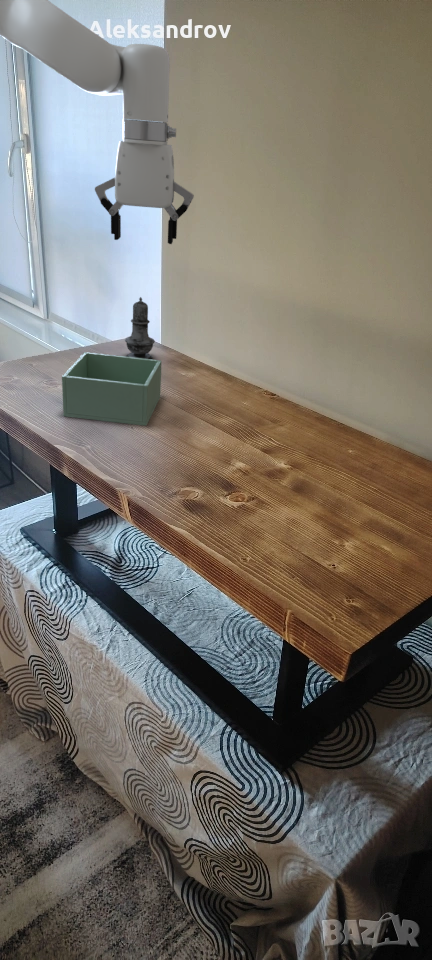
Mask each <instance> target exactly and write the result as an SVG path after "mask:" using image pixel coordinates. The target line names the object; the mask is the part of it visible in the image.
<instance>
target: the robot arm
mask: <svg viewBox="0 0 432 960" xmlns="http://www.w3.org/2000/svg"><path fill="white" fill-rule="evenodd" d="M0 37H1V38H3V39H4V40H6V41H7V42H9V43H10V44H11V45H13V46H15V47H17V48H19V49H21V50H23V51H25V53H28V55H30V56H32V57H33V58H35V59H36V60H38V61H39V62H41V63H42V64H43V65H45V66H47V67H48V68H50V69H51V70H53V72H56V73H57V74H58V75H60V76H62V77H63V78H64V79H66V80H67V81H69V82H71V83H72V84H73V85H75V86H76V87H78V88H80V89H81V90H82V91H84V92H87V93H89V94H92V95H97V96H102V97H107V96H117V95H119V96H120V95H122V140H119V141H118V145H117V152H116V161H115V174H114V177H112V178H111V179H109V180H106V181H105V182H103V183H100V184H97V186H95V187H94V192H95V194H96V196H97V198H98V200H99V202H100V204H101V206H102V207H103V208H104V209H105V210H106V211H107V212H108V214H109V216H110V234H111V235H113V239H114V240H115V241H118V240H120V238H121V236H122V226H121V225H122V224H121V221H122V218H121V215H120V210H121V209H122V208H123V207H124V206H127V207H128V206H129V207H139V208H154V209H164V210H165V212H166V213H167V214H168V216H169V219H168V222H167V244H168V245H172V244H173V243H174V242H173V241H174V240H177V234H178V220H179V219H180V218H181V217H182V216H183V215H184V214H185V213H186V212H187V210H188V209H189V207H190V205H191V203H192V201H193V200H194V198H195V195H194V193H192V192H191V191H189V190H188V189H186V188H185V187H184V186H182V185H180V184H178V183H177V182H176V181H175V159H174V151H173V145H172V144H168V142H169V139H172V138H177V128H176V127H172V126H170V125H169V103H170V102H169V100H170V67H171V66H170V65H171V64H170V62H171V61H170V60H171V59H170V54H169V52H168V50H166V48H164V47H163V46H160V45H154V44H147V43H131V44H128V45H126V46H121V45H116V44H112V43H109V41H107V40H106V39H104V38H103V37H101V36H100V35H99V34H97V33H95V32H94V31H92V30H91V29H90V28H88V27H87V26H85V25H83V23H81V22H79V21H78V20H76V18H74V17H72V16H71V15H69V14H68V13H67V12H65V11H64V10H62V9H61V8H59V7H58V6H57V5H55V4H54V3H53V2H51V1H50V0H0ZM112 188H114V198H115V202H114V203H113V202H111V200H110V199H109V198H108V197H107V194H106V192H107V190H110V189H112ZM175 193H176V194H178V195H179V196H181V197H182V198H183V201H182V203H181V205H180V206H179V207H178V208H176V207H175V205H173V203H174V200H175V199H174V198H175Z"/></svg>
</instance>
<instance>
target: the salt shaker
mask: <svg viewBox="0 0 432 960" xmlns="http://www.w3.org/2000/svg"><path fill="white" fill-rule="evenodd" d="M130 322H131V323H132V326H131V328H132V329H131V330H132V331H131V334H130V336H126V337H125V339H124V342H125V343H126V344H125V345H126V347H127V349H128V351H129V352H130V353H128V354H127V355H126V356H125V357H134V358H143V359H152V360H154V358H153V356H152V355H151V354H150V352H151V351H152V349H153V347H154V344H155V342H156V340H155V339H154V338H153V337H150V336H149V323H150V322H151V321H150V320H149V306H148V304H147V303H146V302H144V301H143V298H142V297H141V296H140V297H139V298H138V300H137V301H135V302H134V303H133V304H132V319H131V320H130Z"/></svg>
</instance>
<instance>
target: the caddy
mask: <svg viewBox="0 0 432 960" xmlns="http://www.w3.org/2000/svg"><path fill="white" fill-rule="evenodd" d="M162 363H163V362H162V360H159V359H143V358H134V357H126V356H124V355H114V354H108V353H107V354H106V353H98V352H97V353H96V352H87V351H84V352H83V353H82V354H81V355H80V356H79V357H78V358H77V359H76V361H75V362H74V363H73V364H72V365H71V366H70V367H69V368H68V369H67V370H66V372H64V374H62V376H61V388H62V410H63V413H62V415H63V417H67V418H75V419H84V420H92V421H100V422H101V421H102V422H109V423H118V424H126V425H127V424H129V425H135V426H143V427H147V426H148V423H149V422H150V420H151V417H152V415H153V413H154V411H155V409H156V407H157V405H158V402H159V401H160V398H161V391H162V390H161V387H162Z"/></svg>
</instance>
